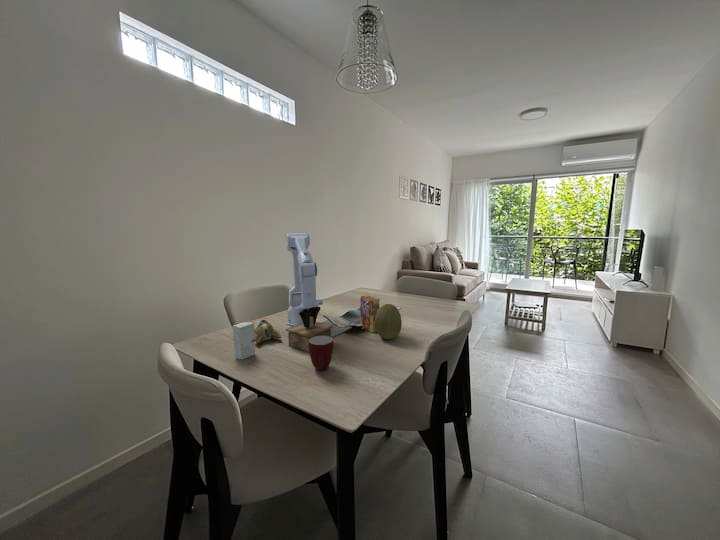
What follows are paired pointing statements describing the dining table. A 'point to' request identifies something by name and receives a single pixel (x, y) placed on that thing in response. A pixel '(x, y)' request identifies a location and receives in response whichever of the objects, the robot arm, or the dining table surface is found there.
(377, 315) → the fruit
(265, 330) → the ceramic sculpture
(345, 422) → the dining table surface
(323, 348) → the mug
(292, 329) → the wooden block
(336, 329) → the mat
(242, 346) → the skincare box
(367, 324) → the candy box
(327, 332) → the box
